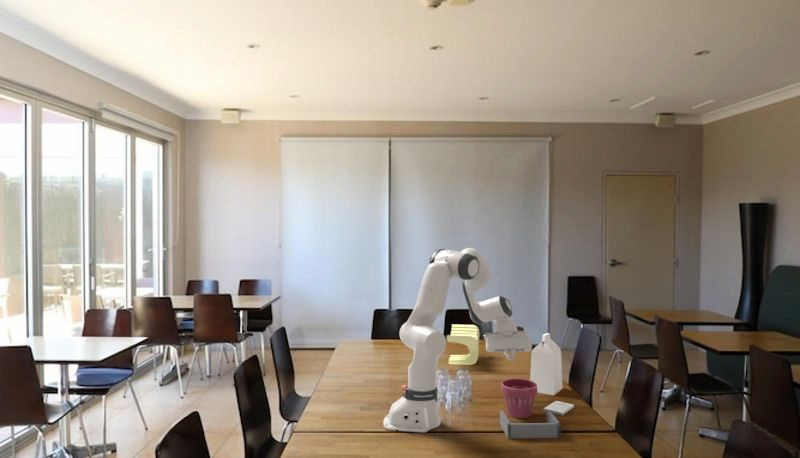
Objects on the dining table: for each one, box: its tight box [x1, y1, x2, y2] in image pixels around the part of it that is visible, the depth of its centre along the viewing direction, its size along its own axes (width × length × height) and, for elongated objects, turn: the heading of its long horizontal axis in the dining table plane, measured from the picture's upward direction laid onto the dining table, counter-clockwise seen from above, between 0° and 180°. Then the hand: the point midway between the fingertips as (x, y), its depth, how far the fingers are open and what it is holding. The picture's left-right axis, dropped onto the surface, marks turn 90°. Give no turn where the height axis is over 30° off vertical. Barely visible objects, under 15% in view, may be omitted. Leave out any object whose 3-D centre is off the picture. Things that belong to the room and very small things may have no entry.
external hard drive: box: [542, 400, 575, 416], centre depth 220 cm, size 2×8×12 cm
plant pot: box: [500, 378, 538, 419], centre depth 214 cm, size 14×14×13 cm
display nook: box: [499, 410, 562, 439], centre depth 198 cm, size 19×14×5 cm
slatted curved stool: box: [446, 323, 480, 366], centre depth 295 cm, size 30×16×18 cm, turn 169°
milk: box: [529, 332, 563, 396], centre depth 245 cm, size 12×12×26 cm
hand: (511, 359), depth 229 cm, fingers closed
